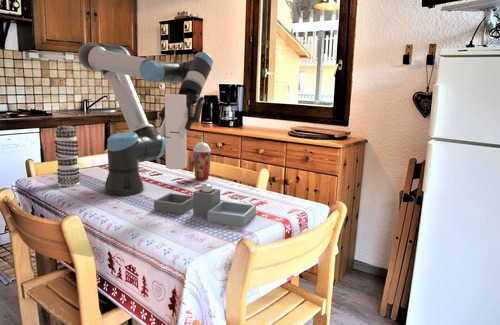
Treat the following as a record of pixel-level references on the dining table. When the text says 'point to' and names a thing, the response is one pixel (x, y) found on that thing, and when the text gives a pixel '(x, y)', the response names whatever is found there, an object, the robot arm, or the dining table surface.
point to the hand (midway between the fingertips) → (170, 135)
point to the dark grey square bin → (174, 203)
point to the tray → (231, 213)
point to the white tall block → (175, 131)
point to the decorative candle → (67, 156)
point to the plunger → (207, 188)
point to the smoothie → (202, 160)
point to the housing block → (205, 201)
